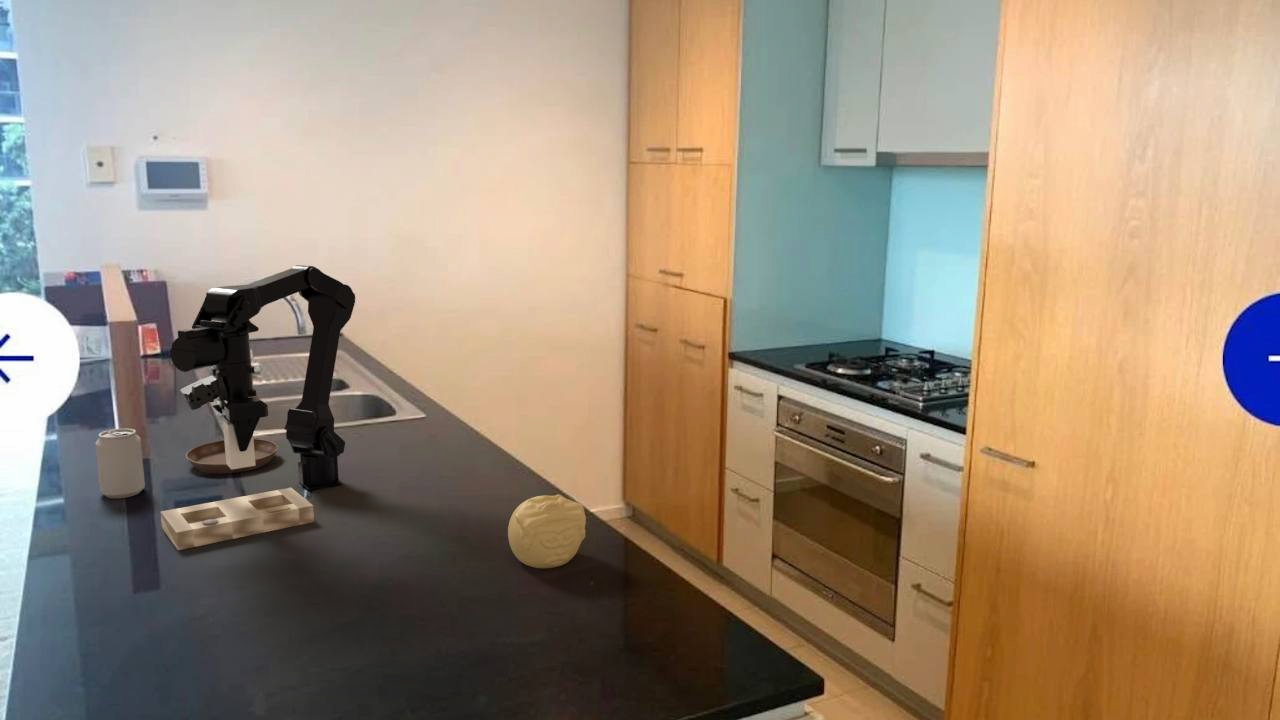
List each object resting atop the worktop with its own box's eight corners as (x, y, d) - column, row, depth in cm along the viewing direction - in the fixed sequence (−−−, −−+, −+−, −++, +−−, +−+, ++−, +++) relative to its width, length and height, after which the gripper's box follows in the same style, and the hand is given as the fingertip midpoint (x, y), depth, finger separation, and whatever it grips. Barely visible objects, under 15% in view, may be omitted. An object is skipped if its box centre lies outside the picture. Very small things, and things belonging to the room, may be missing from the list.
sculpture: (525, 581, 148) (524, 513, 146) (498, 553, 159) (497, 489, 157) (594, 567, 153) (594, 501, 151) (564, 541, 164) (563, 479, 162)
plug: (249, 459, 176) (245, 405, 174) (255, 465, 173) (251, 410, 171) (226, 463, 174) (221, 408, 172) (231, 469, 171) (226, 413, 169)
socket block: (292, 503, 181) (291, 486, 181) (314, 522, 172) (313, 504, 171) (162, 528, 169) (160, 510, 168) (178, 550, 159) (176, 531, 158)
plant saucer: (273, 474, 199) (272, 459, 198) (178, 480, 195) (177, 465, 194) (283, 449, 216) (282, 436, 215) (196, 454, 212) (194, 440, 211)
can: (126, 501, 182) (120, 438, 180) (91, 498, 183) (84, 435, 181) (154, 488, 189) (148, 427, 187) (119, 485, 191) (113, 425, 188)
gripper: (172, 357, 173) (180, 442, 176) (193, 376, 158) (201, 469, 161) (239, 350, 179) (245, 433, 182) (265, 368, 164) (272, 458, 167)
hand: (240, 448), depth 173 cm, fingers closed on plug, 4 cm apart
